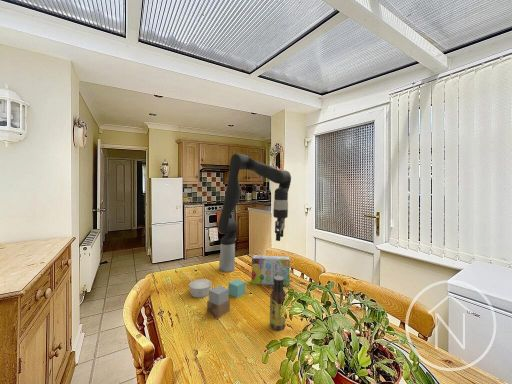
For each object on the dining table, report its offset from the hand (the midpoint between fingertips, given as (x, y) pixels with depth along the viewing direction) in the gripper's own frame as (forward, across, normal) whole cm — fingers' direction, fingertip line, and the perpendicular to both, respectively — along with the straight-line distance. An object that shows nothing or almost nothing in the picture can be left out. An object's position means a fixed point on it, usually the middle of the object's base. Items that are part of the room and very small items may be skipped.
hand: (279, 238), depth 121 cm
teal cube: (+28, +12, -19) cm, 36 cm away
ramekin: (+28, +17, -37) cm, 49 cm away
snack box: (+28, -6, -6) cm, 29 cm away
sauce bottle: (+27, +31, +6) cm, 42 cm away
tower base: (+28, +29, -21) cm, 45 cm away
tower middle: (+23, +29, -21) cm, 42 cm away
